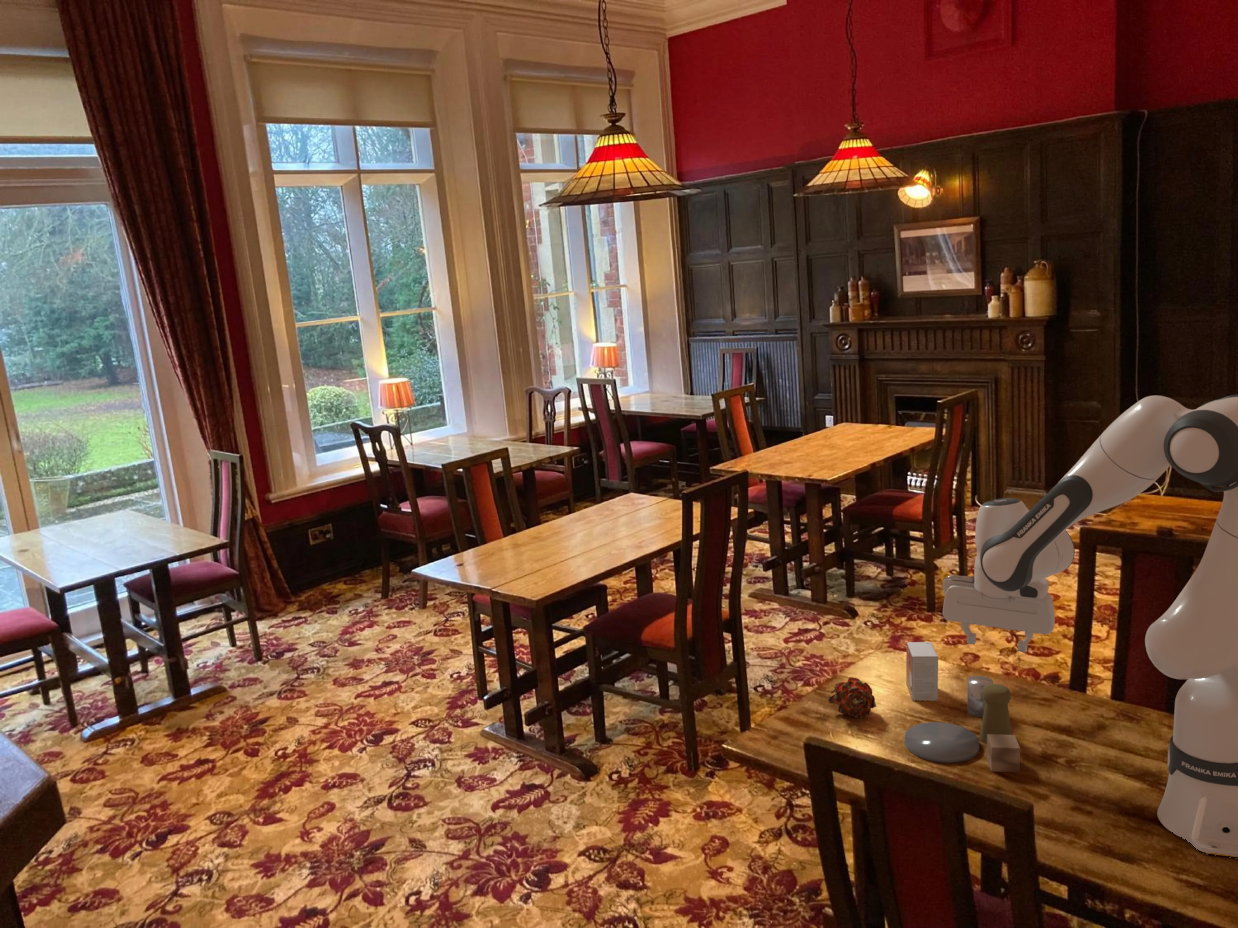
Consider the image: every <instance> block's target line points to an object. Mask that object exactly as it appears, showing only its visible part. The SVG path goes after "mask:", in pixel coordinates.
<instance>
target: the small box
mask: <svg viewBox="0 0 1238 928" xmlns="http://www.w3.org/2000/svg"><path fill="white" fill-rule="evenodd" d="M905 647H906V648H905V649H906V653H905V654H906V661H905V663H906V667H905V669H906V673H905V674H906V677H905V678H906V680H905V683H906V687H907V689H908V693H909V695H910V700H911V701H912V702H914V701H915V700H917V702H918V700H919V701H920V702H921V700H924V702H925V701H927V700H930V701H929V702H931V701H932V702H933V701H934V702H935V701H936V702H937V701H939V697H938V696H939V656H938V654H937V652H936V650H935V647H934V644H933V642H932V641H931V642H929V641H917V642H915V641H908V642H906V646H905ZM915 702H916V701H915Z"/></svg>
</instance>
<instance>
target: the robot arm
mask: <svg viewBox="0 0 1238 928" xmlns="http://www.w3.org/2000/svg"><path fill="white" fill-rule="evenodd" d="M1170 466H1171V467H1172V468H1173V469H1174V470H1175V471H1176V472H1177V473H1178V474H1180V475H1181V476H1183V477H1185V478H1187V479H1189V480H1191V481H1193V482H1196V483H1199V484H1200V485H1201V486H1203V487H1205V488H1206V489H1207V490H1209V491H1211V492H1214V493H1215V492H1216V493H1220V492H1223V499H1222V503H1221V506H1220V509H1219V512H1218V514H1217V518H1216V519H1215V523H1214V526H1213V529H1212V531H1211V534H1210V537H1209V539H1208V542H1207V545H1206V547H1205V551H1204V553H1203V556H1202V557H1201V560H1200V562H1199V564H1198V566H1197V568H1196V569H1195V571H1194V572H1193V574H1191V577H1190V578H1189V580H1188V581H1187V583H1186V584H1185V586H1184V587H1183V588H1182V590H1181V592H1179V594H1178V595H1177V597H1176V599H1175V600H1174V601H1173V602H1172V604H1171V605H1170V606H1169V607H1168V609H1167V610H1166V611H1165V612H1164V613H1163V614H1162V615H1161V616H1160V617H1159V618H1158V619H1156V620H1155V621H1154V622H1152V623H1151V624H1150V625H1149V626H1148V628H1147V630H1146V633H1145V636H1144V637H1145V638H1144V645H1145V649H1146V653H1147V656H1148V658H1149V660H1150V661H1151V663H1152V664H1153V666H1154V667H1155V668H1156V669H1157V670H1158V671H1159V672H1160V673H1162V674H1163V675H1165V676H1166V677H1168V678H1172V679H1176V680H1186V681H1185V682H1184V683H1183V685H1182V686H1181V687H1180V688H1179V690H1178V691H1177V693H1176V697H1175V700H1174V714H1173V729H1172V730H1173V733H1172V735H1171V736H1170V739H1169V744H1168V749H1167V768H1168V769H1167V770H1168V777H1167V783H1166V787H1165V791H1164V794H1163V797H1162V798H1161V802H1160V804H1159V806H1158V807H1157V811H1156V814H1157V819H1158V820H1159V821H1160V823H1161V824H1162V826H1163V827H1165V829H1167V830H1168V831H1169V832H1171V833H1172V832H1173V833H1172V834H1174V835H1176V836H1178V837H1180V838H1181V837H1182V838H1181V839H1183V840H1185V839H1186V840H1187V841H1186V840H1185V841H1186V842H1187V843H1189V842H1190V843H1191V844H1192V845H1193V846H1194V847H1195V848H1196V849H1195V848H1194V847H1193V846H1192V845H1191V844H1190V843H1189V844H1190V845H1191V846H1192V847H1193V848H1194V849H1195V850H1197V849H1198V850H1200V851H1202V852H1206V853H1217V854H1225V855H1231V856H1237V857H1238V394H1232V395H1227V396H1225V397H1222V398H1219V399H1214V400H1211V401H1209V402H1208V401H1207V402H1204V403H1203V404H1201V405H1200V406H1199V407H1197V408H1196V409H1190V408H1187V407H1185V406H1184V405H1183V404H1181V403H1180V402H1178V401H1176V400H1175V399H1172V398H1171V397H1167V396H1164V395H1149V396H1148V395H1147V396H1145V397H1143V398H1142V399H1140V400H1138V401H1137V402H1135V403H1134V404H1133V405H1131V406H1130V407H1129V408H1128V409H1126V410H1125V411H1124V412H1123V413H1121V414H1120V415H1119V416H1118V417H1117V418H1116V419H1115V420H1114V421H1112V423H1110V424H1109V425H1108V427H1106V429H1105V430H1103V432H1102V433H1101V434H1100V435H1099V436H1098V438H1097V439H1096V440H1095V441H1093V443H1092V444H1091V446H1089V448H1087V450H1086V451H1085V452H1084V454H1083V455H1082V456H1081V457H1080V458H1079V460H1078V461H1076V463H1075V464H1074V465H1072V467H1071V468H1070V469H1069V470H1068V472H1066V473H1065V474H1064V476H1063V477H1062V478H1061V479H1060V480H1059V481H1058V482H1057V484H1055V486H1053V487H1052V488H1051V489H1050V490H1049V491H1048V492H1047V493H1046V494H1045V495H1043V496H1042V497H1041V499H1039V501H1038V502H1037V503H1036V504H1034V506H1032V508H1031V509H1028V507H1027V506H1026V504H1025V503H1024V502H1023V501H1022V500H1020V499H1018V498H1015V497H1014V498H1012V497H1002V498H994V499H990V500H988V501H985V502H984V503H982V504H981V505H980V506H979V508H978V512H977V515H976V521H975V529H974V530H975V533H974V535H975V537H974V540H975V541H974V544H975V546H976V557H975V560H974V574H973V575H974V576H968V575H958V574H950V575H948V576H946V577H945V578H944V579H943V581H942V592H943V593H944V600H943V604H942V605H943V606H942V607H943V608H942V616H943V617H944V619H945V620H946V621H948V622H949V621H950V622H956V623H961V625H960V626H961V629H962V631H963V633H964V634H965V636H966V644H968V645H976V643H977V633H974V632H972V629H971V628H970V626H971V625H976V626H977V625H978V626H986V627H992V628H999V629H1005V630H1013V631H1019V632H1024V637H1025V638H1024V639H1023V640H1022V639H1019V640H1018V643H1017V652H1022V653H1027V650H1028V644H1029V642H1030V641H1031V640H1032V639H1033V637H1034V636H1035V635H1034V634H1040V635H1049V634H1051V633H1052V632H1053V630H1054V628H1055V625H1056V624H1055V622H1056V621H1055V620H1056V619H1055V618H1056V616H1055V606H1054V600H1053V597H1052V595H1051V594H1050V593H1049V589H1050V582H1049V580H1048V579H1047V578H1049V577H1052V576H1053V575H1057V574H1059V573H1062V572H1063V571H1065V570H1067V569H1068V568H1070V566H1071V565H1072V564H1073V561H1074V558H1075V554H1076V553H1075V544H1074V541H1073V539H1072V537H1071V535H1070V534H1069V533H1068V531H1067V530H1068V529H1069V528H1070V527H1071V526H1073V525H1074V524H1076V523H1078V522H1080V521H1081V520H1084V519H1085V518H1087V517H1090V516H1093V515H1095V514H1097V513H1100V512H1103V511H1105V510H1109V509H1111V508H1115V507H1117V506H1120V505H1122V504H1124V503H1127V502H1129V501H1131V500H1132V499H1134V498H1135V497H1137V496H1138V495H1140V494H1141V493H1142V492H1144V491H1146V490H1147V489H1148V488H1150V487H1151V486H1152V485H1153V484H1155V482H1156V481H1157V480H1158V479H1159V478H1160V477H1162V475H1163V474H1164V473H1165V472H1166V471H1167V470H1168V469H1169V468H1170ZM1217 487H1218V488H1217ZM1220 487H1221V488H1220ZM1198 850H1197V851H1198Z"/></svg>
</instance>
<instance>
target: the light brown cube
mask: <svg viewBox="0 0 1238 928" xmlns="http://www.w3.org/2000/svg"><path fill="white" fill-rule="evenodd" d="M986 760H987V763H988V765H989V768H990V772H999V773H1000V772H1001V773H1002V772H1003V773H1004V772H1005V773H1021V772H1020V771H1021V769H1020V765H1021V763H1020V762H1021V747H1020V745H1019V742H1018V739H1017V737H1016V734H1012V735H997V734H987V743H986Z"/></svg>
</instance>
